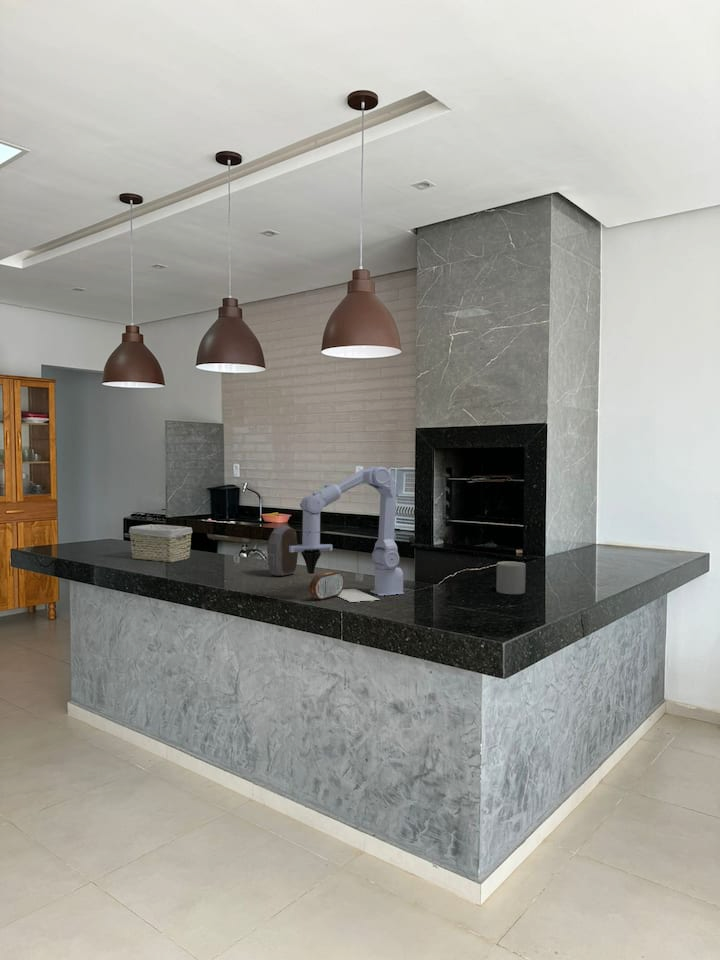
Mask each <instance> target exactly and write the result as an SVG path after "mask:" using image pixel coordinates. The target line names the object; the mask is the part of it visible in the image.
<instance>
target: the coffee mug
mask: <svg viewBox="0 0 720 960" xmlns="http://www.w3.org/2000/svg"><path fill="white" fill-rule="evenodd" d="M495 590H496V592H497V593H500V594H504V595H522V594H525V593H526V563H525V562H521V561H519V562H518V561H507V560H506V561H498V562H496V589H495Z"/></svg>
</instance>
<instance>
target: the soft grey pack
mask: <svg viewBox="0 0 720 960" xmlns="http://www.w3.org/2000/svg"><path fill="white" fill-rule="evenodd" d="M295 545H299V544H298V539H297V532H296V530H295V529H294V528H293V527H290V526H289V525H286V524H281V525H280V526H277V527H275V528H274V529H273V530H272V532H271V533H270V535H269V538H268V541H267V547H266V548H267V550H266V554H267V566H268V571H269V574H270V575H272V576H278V577H279V576H280V577H282V576H287V575H291V574H294V573H295V572H296V570H297V564H298V556H299V555H298V554H299V552H289V546H295Z"/></svg>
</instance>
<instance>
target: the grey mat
mask: <svg viewBox="0 0 720 960" xmlns="http://www.w3.org/2000/svg"><path fill="white" fill-rule="evenodd" d="M337 596H338V598H339V597H340V598H339V599H341V598H342V599H341V600H343V599H344V601H345V600H347V601H349V602H348V603H350V602H358V603H361V602H360V601H370V602H375V601H374V600H380V601H381V599H380V598H378V597H375V596H373V595H371V594H368V593H366V592H363V591H361V590H359V589H356V588H347V589H344V588H343V590H342V592H341V593H340V594H339V595H337ZM337 596H336V597H337ZM347 601H346V602H347Z"/></svg>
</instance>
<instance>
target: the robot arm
mask: <svg viewBox="0 0 720 960" xmlns="http://www.w3.org/2000/svg"><path fill="white" fill-rule="evenodd" d="M362 484H367V485H369V486H370V487H373V488H374V490H376V491H377V492H378V493H379V495H380V501H379V519H378V536H377V537H378V539H377V540H376V542H375V543H374V548H373V551H372V553H371V559H372V562H373V563H374V589H373V590H370V591H369V593H372V594H374V595H376V594H377V595H376V596H379V597H383V596H384V595H385V596H395V595H396V594H398V595H405V592H404V572H403V570H402V568H401V567H398V565H399V563H400V555H399V552H398V549H399V548H398V546H397V543H396V542H395V528H396V527H395V526H396V510H397V509H396V506H397V491H398V490H397V486H396V485H395V481H394V480H393V473H391V471H390V470H389V469H388V468H387V467H384V466H370V465H369V466H367V467H365V468H362V469H360V470H358V471H357V472H356V473H353V474H352V475H349V477H347V478H345V479H343V480H342V481H341V482H339V483H337V484H334V483H326V484H324V487H323V488H321V489H318V490H317V491H316V490H315V491H312V495H311V494H309V495H305V496H304V497H303V498H302V499H301V502H300V503H299V507H300V509H301V510H302V539H301V540H302V544H298V545H295V546H289V552H298V553H299V552H301V556H302V557H303V560H304V562H305V566H306V570H307V574H310V575H313V574H314V573H315V570H316V567H317V562H318V561H319V558H320V557H321V555H322V552H324V551H326V552H327V551H328V552H333V544H331V543H329V544H328V543H327V544H326V543H325V544H324V543H321V512H323V511H322V510H323V509H324V508H325V507H327V506H329V505H331V504H333V503H334V502H336V501H338V500H340V498H341V496H342V494H343V493H345V492H347V491H349V490H351V489H353V488H355V487H357V486H359V485H362Z"/></svg>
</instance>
